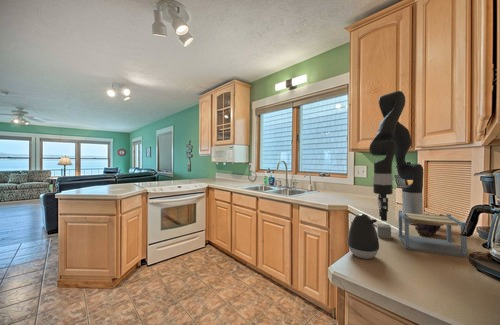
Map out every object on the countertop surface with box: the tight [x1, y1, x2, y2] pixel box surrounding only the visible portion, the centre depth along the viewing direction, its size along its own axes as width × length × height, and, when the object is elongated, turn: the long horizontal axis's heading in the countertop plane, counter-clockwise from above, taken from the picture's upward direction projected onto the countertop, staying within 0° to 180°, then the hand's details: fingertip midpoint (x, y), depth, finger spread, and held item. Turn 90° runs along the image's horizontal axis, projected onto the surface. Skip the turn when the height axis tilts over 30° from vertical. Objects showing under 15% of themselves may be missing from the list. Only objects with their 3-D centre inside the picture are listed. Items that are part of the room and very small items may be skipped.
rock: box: [414, 213, 442, 237], centre depth 102 cm, size 12×9×10 cm
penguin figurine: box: [346, 213, 380, 260], centre depth 78 cm, size 10×10×15 cm
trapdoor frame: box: [397, 210, 469, 259], centre depth 87 cm, size 17×18×12 cm
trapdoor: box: [404, 213, 459, 227], centre depth 88 cm, size 14×15×4 cm
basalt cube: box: [376, 223, 392, 240], centre depth 99 cm, size 5×5×5 cm
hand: (382, 218), depth 99 cm, fingers open, 8 cm apart
